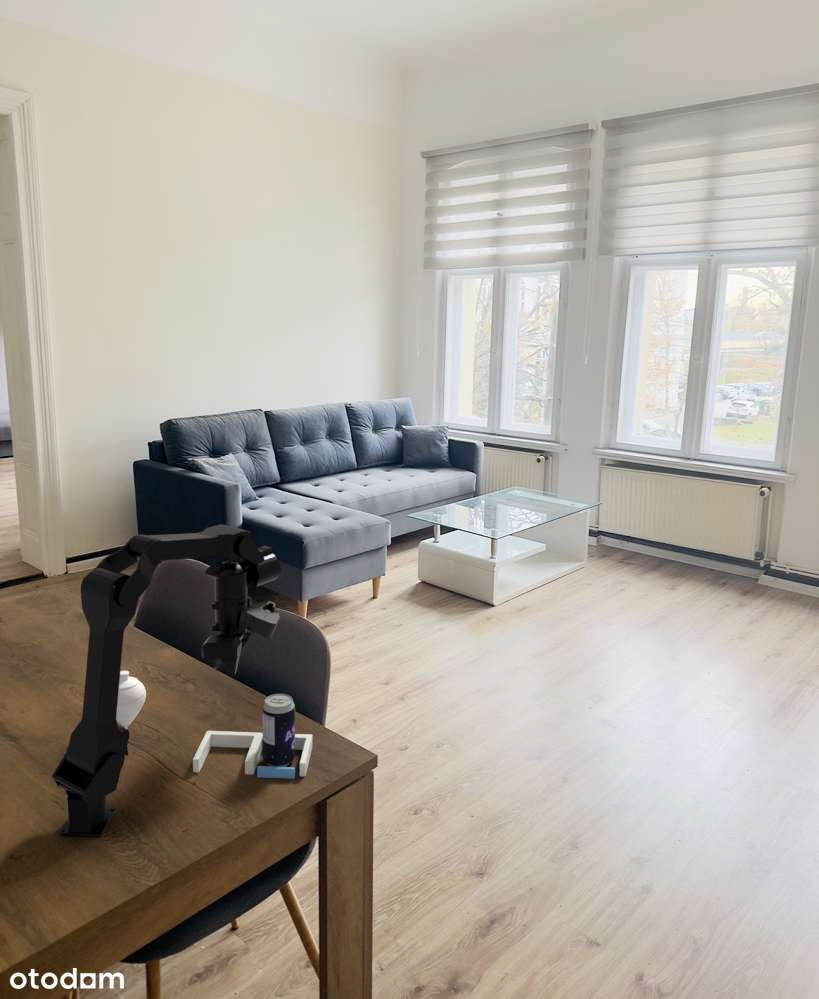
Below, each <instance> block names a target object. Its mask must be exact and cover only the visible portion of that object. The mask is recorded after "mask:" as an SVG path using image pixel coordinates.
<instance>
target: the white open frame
mask: <svg viewBox="0 0 819 999" xmlns="http://www.w3.org/2000/svg"><path fill="white" fill-rule="evenodd" d="M212 747H214V748H215V747H216V748H220V747H221V748H240V749H244V748H245V749H249V750H248V752H247V755H246V757H245V760H244V774H245V775H254V774H255V772H256V770H257V773H256V774H257V776H256V777H257V778H267V779H269V778H270V779H291V780H292V779H295V777H296V775H295V774H296V767H292V766H289V767H288V766H285V767H271V766H269V765H268V766H267V765H264V766H263V765H258V763H259V761H260V758H261V755H262V753H263V732H253V731H252V732H251V731H226V730H225V731H224V730H220V731H219V730H207V731H206V732H205V734H204V736H203V739H202V740H201V742H200V745H199V746H198V749H197V751H196V752H195V755H194V756H193V758H192V772H193V773H200V771H201V769H202V767H203V765H204V762H205V761H206V758H207V756H208V754H209V753H210V750H211V748H212ZM312 749H313V734H307V733H305V734H303V733H295V751H296V750H297V751H298V750H300V751H302V753H301V758H300V760H299V777H306V776H307V771H308V766H309V763H310V759H311V755H312V751H313V750H312Z"/></svg>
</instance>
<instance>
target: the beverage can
mask: <svg viewBox="0 0 819 999" xmlns="http://www.w3.org/2000/svg"><path fill="white" fill-rule="evenodd" d="M262 733H263V749H262V760H263V762H265V763H266V764H267V765H268V766H271V767H288V765H290V764H291V763H292V762H293V761H294V760H295V758H296V750H295V734H296V704H295V703H294V699H293V697H292V696H290V694H285V693H275V694H274V693H273V694H271V695H269V696H266V698H265V699H264V704H263V705H262Z"/></svg>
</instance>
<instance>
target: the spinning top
mask: <svg viewBox="0 0 819 999" xmlns="http://www.w3.org/2000/svg"><path fill="white" fill-rule="evenodd" d="M146 698H147V691H146V687H145V686H144V684H143V682H141V681H140V680H139V679H138V678H137V677H134V676H130V671H128V670H120V681H119V692H118V703H117V714H116V720H117V723H118V724H120V725H122V727H124V728H125V729H128V727H129V726H130V725H131V723H132V722H133V721H134V720H135V719H136V717H137V716H138V715H139V712H140V711H141V710H142V707H143V706H144V704H145V701H146Z"/></svg>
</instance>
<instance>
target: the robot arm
mask: <svg viewBox="0 0 819 999" xmlns="http://www.w3.org/2000/svg"><path fill="white" fill-rule="evenodd" d="M200 558H201V559H202V558H203V559H204V558H214V559H219V560H225V561H224V562H219V561H216V560H213V561H212V563H211V564H210V566H208V567H207V568H206V570H205V571H204V574H205V575H206V576H210V577H212V578H214V601H213V602H212V603H211V609H212V610H214V615H215V622H214V623H213V624H212V627H211V628H212V632H219V633H218V634H211V635H210V636H209V637H207V639H206V640H205V641H204V643H203V645H201V658H203V659H204V660H205V659H206V660H207V659H208V660H210V659H212V660H220V662H221V663H222V665H223V667H224V669H225V670H226V673H227V674H228V676H232V677H233V676H235V675H236V673H237V669H238V664H239V661H240V656H241V652H242V651H243V650H244V649H245V647H246V645H247V643H248V641H249V640H250V638H251V636H252V635H253V633H254V634H257V635H260V636H261V637H262V638H264V639H271V638H272V637H273V635H274V633H275V631H276V628H277V625H278V623H279V620H280V619H281V618H280V617H281V616H280V612H277V604H276V603H275V602H274V601H273V602H272V601H270V600H269V601H267V602H266V603H264V604H263V605H262V606H261V605H258V606H256V605H253V602H252V600H253V599H252V598H251V596H250V595H248V588H250V589H253V588H254V589H255V588H257V587H259V586H262V585H265V584H268V583H270V582H272V581H275V580H277V579H278V578H279V577H280V575H281V572H282V566H281V565H280V561H279V559H278V558H277V556H276V555H275V554H274V553H273V547H271V546H267V545H263V546H260V547H258V546H256V544H255V542H254V541H253V537H252V535H251V532H250V531H249V530H247V529H242V528H238V527H234V526H230V525H225V524H217V525H213V526H210V527H209V526H208V527H206V528H205V529H204V530H203V531H200V532H196V533H195V532H194V533H193V532H191V533H172V534H170V533H169V534H153V535H145V534H142V533H141V534H136V535H133V536H132V537H131V538H130V539H129V540H128V541H127V542H126V543H125V544H124V545H123V546H122V547H120V548H119V549H117V550H116V551H114V552H112V553H110V554H109V555H108V556H106V557H104V558H103V559H102V560H101V561H100V562H99V563H98V564H97V565H96V567H95V568H94V569H93V570H91V571H90V572H88V574H87V575H86V576H84V577H83V578H82V581H81V584H80V603H81V609H82V612H83V615H84V617H85V619H86V622H87V624H88V627H89V635H88V648H87V659H86V669H85V670H86V671H85V680H84V681H85V682H84V693H83V705H82V715H81V720H80V721H79V722H78V724H77V725H76V726H75V728H74V729H73V731H71V734H70V738H69V742H68V747H67V751H66V753H65V754H64V755H63V757H62V759H61V760H60V762H59V763H58V765H57V767H56V768H55V770H54V771H53V774H51V779H52V781H53V783H54V785H55V786H56V787H59V788H61V789H63V790H65V798H66V812H67V819H66V820H65V822H64V824H63V825H62V826H61V827H60V828H59V830H58V833H59V834H58V835H60V836H70V837H71V836H74V837H96V838H97V837H98V838H99V837H101V836H103V834H104V833H105V832H106V829H107V828H108V826H109V825H110V823H111V821H112V820H113V818H114V816H115V814H117V813H116V812H117V810H116V808H115V807H108V800H107V796H108V795H110V794H112V793H113V792H116V790H117V788H118V783H119V780H120V775H121V770H122V769H123V767H124V764H125V759H126V757H128V756H129V751H128V744H129V739H130V729H128V728H127V729H125V727H124V726H120V725H119V722H118V721H117V720H116V714H117V703H118V692H119V681H120V671H122V670H121V669H122V667H121V666H122V658H123V657H122V656H123V648H124V636H125V635H124V634H125V629H127V627H128V625H129V624H130V622H131V621H132V620H133V618H134V616H135V615H136V612H137V609H138V605H139V600H140V597H141V596H142V595H143V594H144V592H145V591H146V590H147V589H148V588H149V587H150V585H151V583H152V580H153V576H154V574H155V570H156V567H157V566H158V565H159V564H160V563H161V562H168V561H178V560H179V561H181V560H192V559H200ZM137 562H138V563H137ZM136 563H137V566H136V569H135V570H134V571H133V572H132V574H131V575H129V574H125V573H123V572H124V571H125V570H126V569H128V568H129V567H131V566H133V565H134V564H136ZM247 631H248V632H247ZM249 631H250V632H249Z"/></svg>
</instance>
